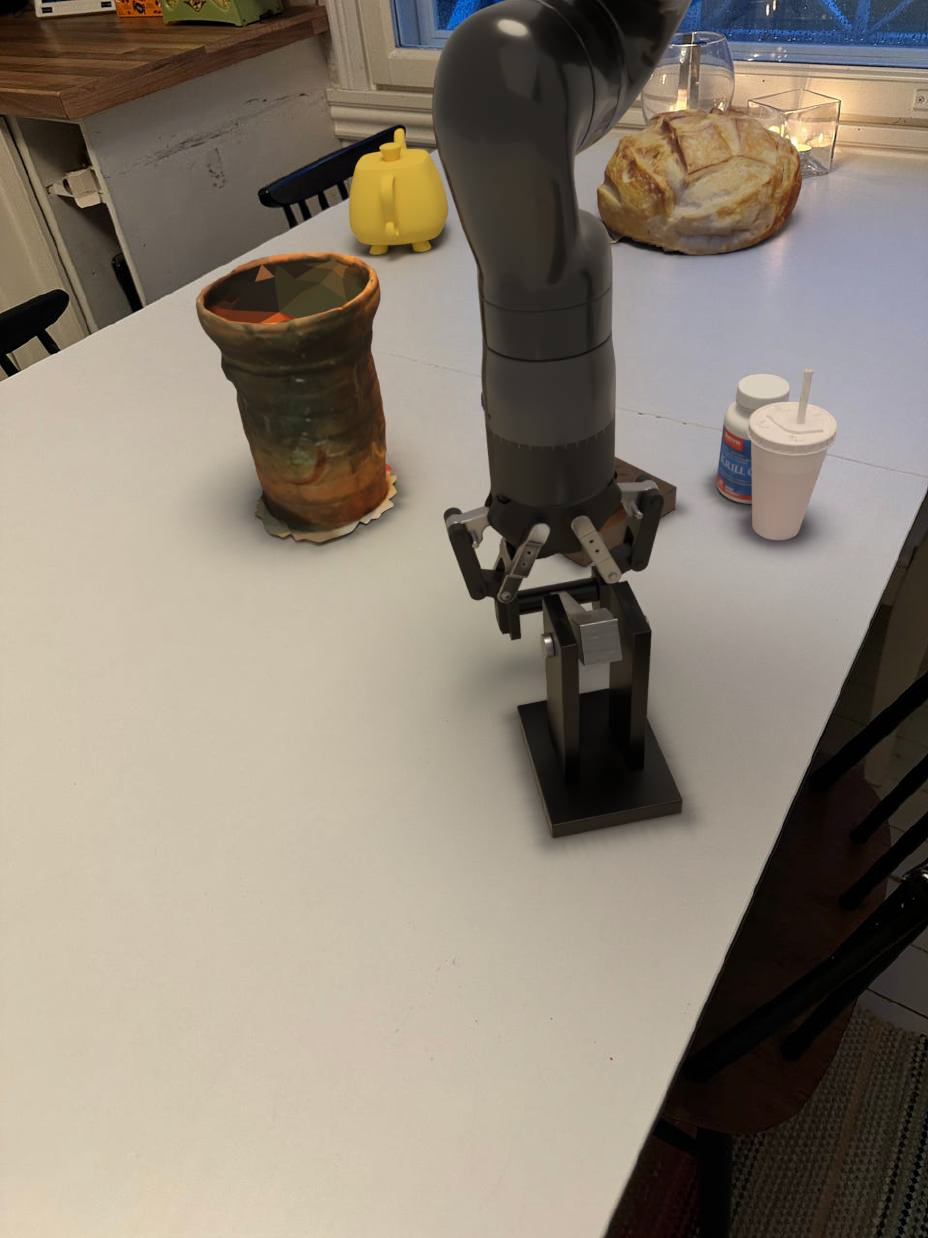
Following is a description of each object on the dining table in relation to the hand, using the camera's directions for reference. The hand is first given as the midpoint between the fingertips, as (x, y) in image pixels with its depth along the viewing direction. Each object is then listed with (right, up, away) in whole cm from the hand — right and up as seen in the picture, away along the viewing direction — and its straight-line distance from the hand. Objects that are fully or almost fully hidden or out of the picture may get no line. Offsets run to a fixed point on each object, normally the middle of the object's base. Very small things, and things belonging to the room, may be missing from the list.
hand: (557, 623), depth 64 cm
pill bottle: (+18, +11, +16) cm, 27 cm away
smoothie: (+19, +8, +11) cm, 23 cm away
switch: (+1, -1, -7) cm, 7 cm away
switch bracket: (+2, -9, -5) cm, 10 cm away
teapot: (-15, +55, +69) cm, 89 cm away
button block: (+4, +9, +15) cm, 18 cm away
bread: (+25, +55, +63) cm, 87 cm away
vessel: (-18, +11, +21) cm, 30 cm away
